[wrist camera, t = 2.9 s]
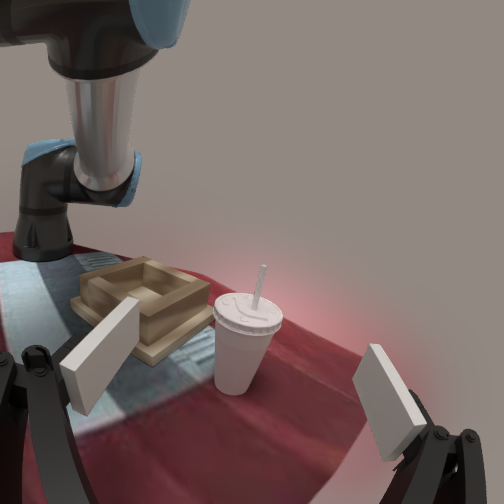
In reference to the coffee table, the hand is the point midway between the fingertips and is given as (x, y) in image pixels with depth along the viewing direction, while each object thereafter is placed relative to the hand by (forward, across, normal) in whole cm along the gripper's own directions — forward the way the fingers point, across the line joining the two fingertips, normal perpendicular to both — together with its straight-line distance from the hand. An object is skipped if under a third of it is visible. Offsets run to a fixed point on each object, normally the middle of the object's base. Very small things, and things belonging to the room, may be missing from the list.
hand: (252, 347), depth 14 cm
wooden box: (+19, -14, -12) cm, 27 cm away
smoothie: (+10, 0, -12) cm, 16 cm away
